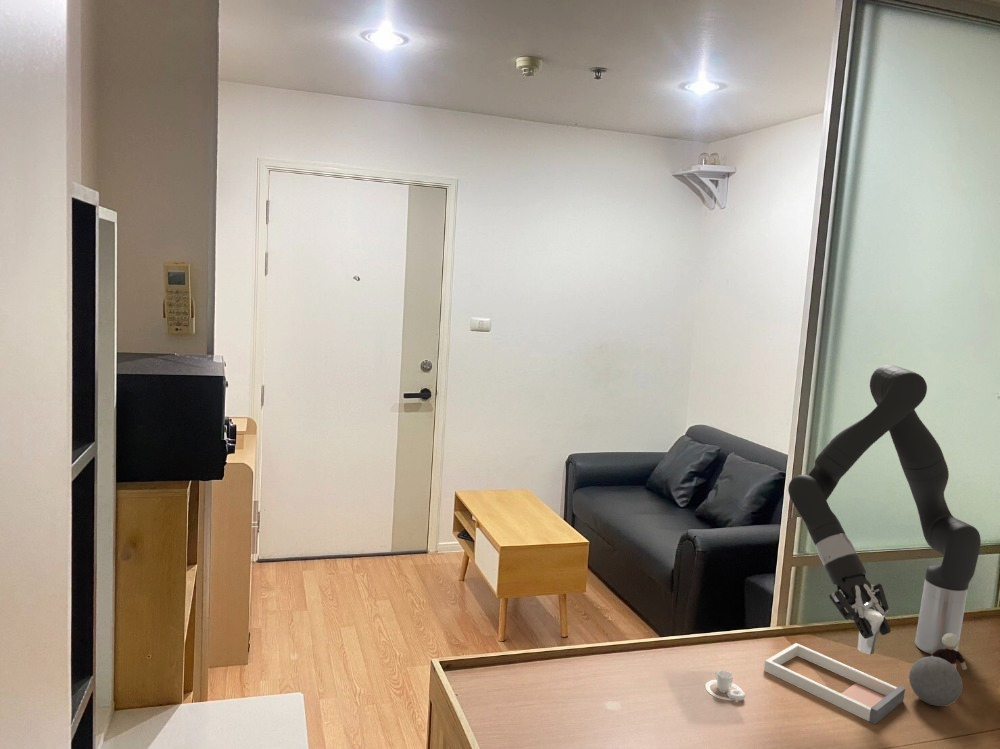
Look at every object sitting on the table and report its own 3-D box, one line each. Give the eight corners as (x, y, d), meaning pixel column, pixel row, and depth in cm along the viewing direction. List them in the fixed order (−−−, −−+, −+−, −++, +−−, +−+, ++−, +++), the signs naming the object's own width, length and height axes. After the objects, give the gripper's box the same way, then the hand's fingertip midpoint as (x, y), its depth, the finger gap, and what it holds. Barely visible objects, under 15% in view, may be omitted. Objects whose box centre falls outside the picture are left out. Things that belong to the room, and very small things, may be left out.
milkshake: (883, 658, 165) (891, 614, 164) (856, 653, 166) (864, 609, 165) (878, 648, 170) (886, 604, 168) (851, 643, 171) (859, 600, 169)
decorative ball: (896, 689, 174) (902, 647, 173) (938, 689, 175) (945, 647, 174) (924, 715, 165) (931, 671, 163) (969, 716, 166) (976, 672, 164)
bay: (794, 652, 188) (796, 640, 188) (903, 701, 170) (905, 688, 169) (763, 670, 179) (765, 658, 178) (874, 724, 160) (876, 710, 160)
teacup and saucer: (750, 705, 165) (752, 687, 165) (713, 704, 165) (715, 686, 164) (735, 682, 174) (737, 665, 173) (700, 681, 173) (701, 664, 173)
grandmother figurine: (955, 683, 179) (964, 631, 176) (964, 692, 175) (973, 639, 173) (921, 680, 179) (929, 628, 177) (929, 690, 175) (938, 637, 173)
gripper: (827, 555, 168) (865, 634, 160) (874, 548, 174) (914, 624, 166) (805, 569, 174) (841, 646, 165) (852, 562, 180) (889, 636, 171)
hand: (877, 635), depth 165 cm, fingers closed on milkshake, 4 cm apart
